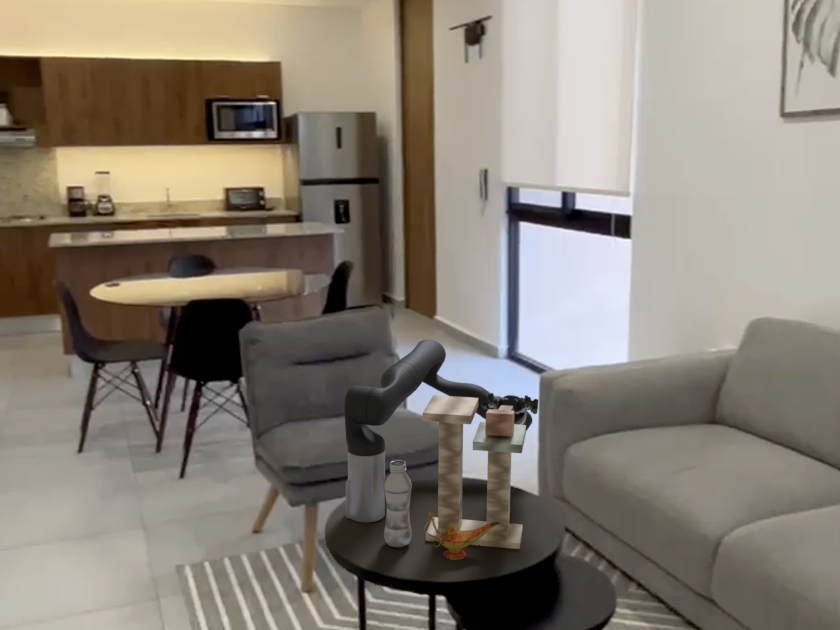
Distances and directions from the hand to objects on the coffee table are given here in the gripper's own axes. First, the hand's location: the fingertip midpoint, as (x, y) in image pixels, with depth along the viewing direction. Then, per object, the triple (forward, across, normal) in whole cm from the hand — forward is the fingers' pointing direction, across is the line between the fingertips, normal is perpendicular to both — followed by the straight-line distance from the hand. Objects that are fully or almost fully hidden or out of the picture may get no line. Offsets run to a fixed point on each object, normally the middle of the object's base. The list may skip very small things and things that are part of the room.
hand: (508, 397), depth 210 cm
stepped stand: (-3, +6, -33) cm, 34 cm away
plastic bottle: (+4, +23, -38) cm, 44 cm away
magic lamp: (+5, +8, -38) cm, 40 cm away
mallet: (+4, +1, -9) cm, 10 cm away
